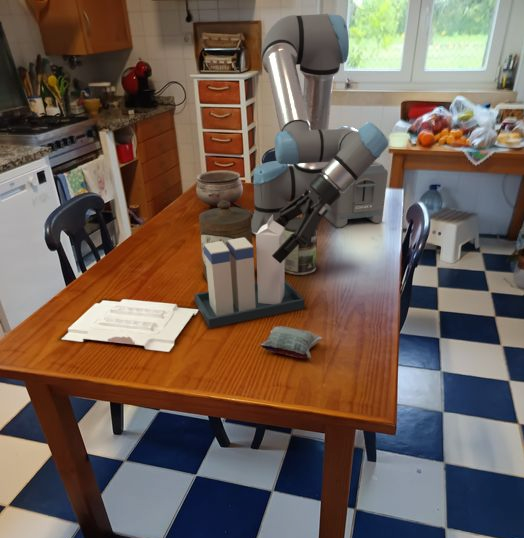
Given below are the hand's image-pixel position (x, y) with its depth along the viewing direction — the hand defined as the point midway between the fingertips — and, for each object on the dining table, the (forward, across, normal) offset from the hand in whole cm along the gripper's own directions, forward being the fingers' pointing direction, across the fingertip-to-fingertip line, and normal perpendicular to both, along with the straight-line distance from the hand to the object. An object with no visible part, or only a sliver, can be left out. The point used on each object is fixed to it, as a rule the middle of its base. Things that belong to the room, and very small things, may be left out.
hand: (270, 249), depth 122 cm
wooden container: (+17, +19, -4) cm, 26 cm away
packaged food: (+11, -24, -10) cm, 28 cm away
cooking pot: (+14, +87, -8) cm, 88 cm away
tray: (+15, -1, -6) cm, 16 cm away
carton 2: (+16, -2, -4) cm, 16 cm away
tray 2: (+36, -4, +15) cm, 39 cm away
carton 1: (+20, -3, 0) cm, 20 cm away
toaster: (-19, +63, -40) cm, 77 cm away
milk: (+10, 0, -10) cm, 14 cm away
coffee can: (+2, +19, -19) cm, 27 cm away
